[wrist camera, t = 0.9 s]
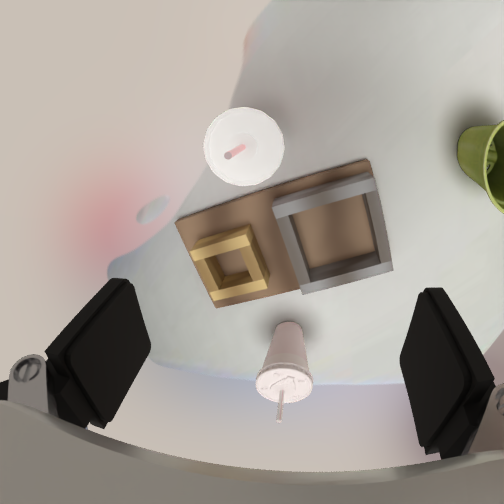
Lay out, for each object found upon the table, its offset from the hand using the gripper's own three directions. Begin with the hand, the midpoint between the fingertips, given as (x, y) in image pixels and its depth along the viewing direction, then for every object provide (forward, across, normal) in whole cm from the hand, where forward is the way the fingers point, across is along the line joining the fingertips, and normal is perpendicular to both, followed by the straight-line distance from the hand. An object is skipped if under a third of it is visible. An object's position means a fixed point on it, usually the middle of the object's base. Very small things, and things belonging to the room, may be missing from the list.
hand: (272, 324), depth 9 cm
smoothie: (+24, 0, +21) cm, 32 cm away
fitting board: (+24, +1, +7) cm, 25 cm away
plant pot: (+24, -22, -4) cm, 33 cm away
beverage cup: (+24, +3, -4) cm, 25 cm away
